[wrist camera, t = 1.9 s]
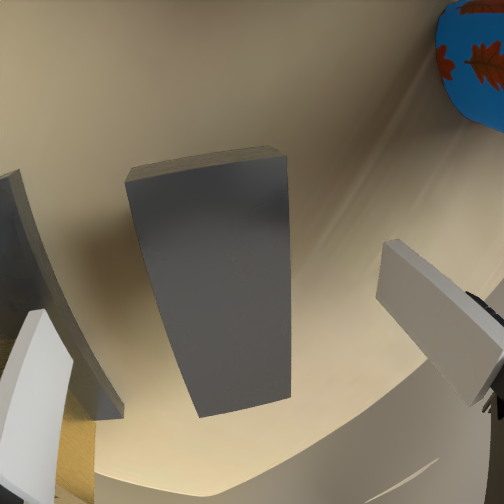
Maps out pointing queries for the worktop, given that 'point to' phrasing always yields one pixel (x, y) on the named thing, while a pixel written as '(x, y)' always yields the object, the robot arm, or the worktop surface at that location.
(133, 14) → the worktop surface
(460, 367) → the robot arm
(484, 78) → the thermos
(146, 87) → the worktop surface
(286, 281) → the grey slab block
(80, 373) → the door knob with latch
